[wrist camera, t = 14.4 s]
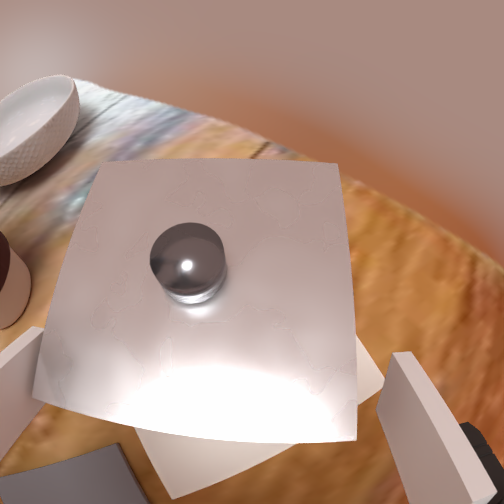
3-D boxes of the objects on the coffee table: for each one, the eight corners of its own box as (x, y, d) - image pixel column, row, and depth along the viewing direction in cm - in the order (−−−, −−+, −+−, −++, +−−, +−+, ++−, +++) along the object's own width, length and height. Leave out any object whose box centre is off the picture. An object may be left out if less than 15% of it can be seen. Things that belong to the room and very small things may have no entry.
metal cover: (157, 267, 24) (94, 144, 13) (307, 274, 23) (342, 143, 13) (134, 416, 18) (11, 392, 8) (305, 432, 18) (369, 441, 7)
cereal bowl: (1, 231, 27) (-35, 192, 21) (-21, 171, 33) (-44, 138, 27) (114, 136, 33) (95, 87, 27) (65, 101, 39) (50, 64, 33)
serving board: (91, 301, 23) (86, 296, 22) (268, 217, 27) (268, 210, 26) (176, 496, 16) (172, 499, 15) (382, 385, 20) (388, 383, 19)
